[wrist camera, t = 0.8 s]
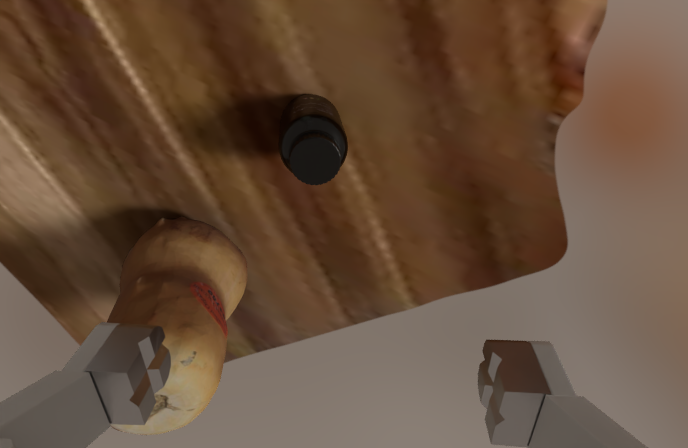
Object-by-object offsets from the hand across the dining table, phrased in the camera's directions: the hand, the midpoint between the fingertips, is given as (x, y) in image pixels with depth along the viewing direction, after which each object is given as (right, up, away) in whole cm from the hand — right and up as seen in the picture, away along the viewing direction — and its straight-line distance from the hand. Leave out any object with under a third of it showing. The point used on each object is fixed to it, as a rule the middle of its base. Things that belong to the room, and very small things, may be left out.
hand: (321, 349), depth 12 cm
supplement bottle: (-3, +15, +40) cm, 43 cm away
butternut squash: (-18, 0, +47) cm, 50 cm away
